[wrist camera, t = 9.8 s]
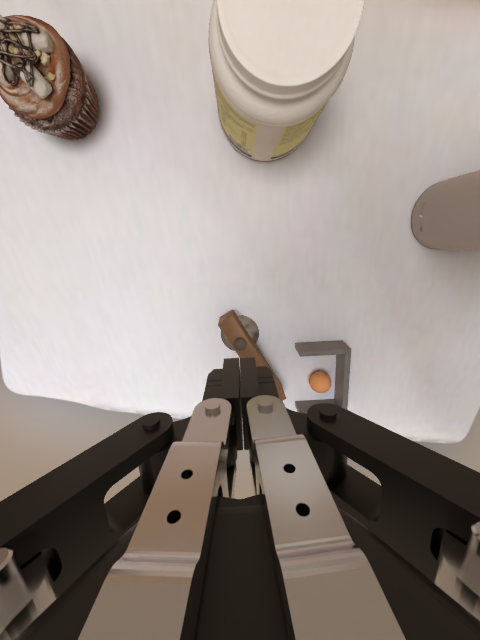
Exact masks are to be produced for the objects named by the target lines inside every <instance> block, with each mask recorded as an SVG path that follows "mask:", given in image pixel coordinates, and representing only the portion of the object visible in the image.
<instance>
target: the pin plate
mask: <svg viewBox="0 0 480 640" xmlns="http://www.w3.org/2000/svg"><path fill="white" fill-rule="evenodd" d="M237 317H238V318H239V320H240V321H241V323H242V325H243V326H244V328H245V329H246V331H247V332H248V334H249V335H250V337H251V338H252V340H253V342H254V343H256V342H257V340H258V336H259V331H258V327H257V325H256V323H255V322H254V321H253V320H252V319H250V318H249V317H246V316H242V315H238V316H237ZM221 338H222V341H223V343H224V344H225V345H226V346H227V347H228V348H229V349H231V350H234V351H235V349H234V348H233V346H232V345H231V343H230V342H229V341H228V339H227V338H226V336H225V335H224V333H223V332H222V330H221Z"/></svg>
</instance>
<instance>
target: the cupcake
mask: <svg viewBox="0 0 480 640" xmlns="http://www.w3.org/2000/svg"><path fill="white" fill-rule="evenodd" d="M0 95H1V97H2V99H3V100H4V101H5V102H6V103H7V104H8V105H9V109H11V110H13V111H14V112H15V113H14V115H15V116H16V117H20V121H21V122H24V123H25V125H26V126H30V127H31V128H32V129H35V130H38V131H39V132H44V133H46V134H51V135H56V136H59V137H62V138H66V139H72V140H73V139H75V138H76V139H79V138H83V137H85V136H86V135H88V134H90V133H91V131H92V129H93V128H94V127H95V126H96V122H97V120H98V113H97V112H98V101H97V97H96V94H95V90H94V89H93V86H92V84H91V83H90V81H89V79H88V77H87V75H86V74H85V72H84V69H83V67H82V65H81V63H80V61H79V59H78V58H77V57H76V55H75V54H74V52H73V50H72V49H71V47H70V46H69V45H68V44H67V42H66V41H65V40H64V39H63V38H62V37H61V36H60V35H59V34H58V32H57V31H56V30H55V29H54V28H53V27H52V26H50V25H49V24H47V23H45V22H44V21H42V20H40V19H36V18H33V17H30V16H22V15H12V16H7V17H2V16H1V15H0Z"/></svg>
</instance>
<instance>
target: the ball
mask: <svg viewBox="0 0 480 640" xmlns="http://www.w3.org/2000/svg"><path fill="white" fill-rule="evenodd" d="M309 382H310V386H311V388H312V389H313V390H314V391H316V392H318V393H324V392H326V391H328V390H329V389H330V387H331V379H330V377H329V376H328V375H327V374H326V373H324V372H315V373H313V374H312V375H311V377H310V381H309Z"/></svg>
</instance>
